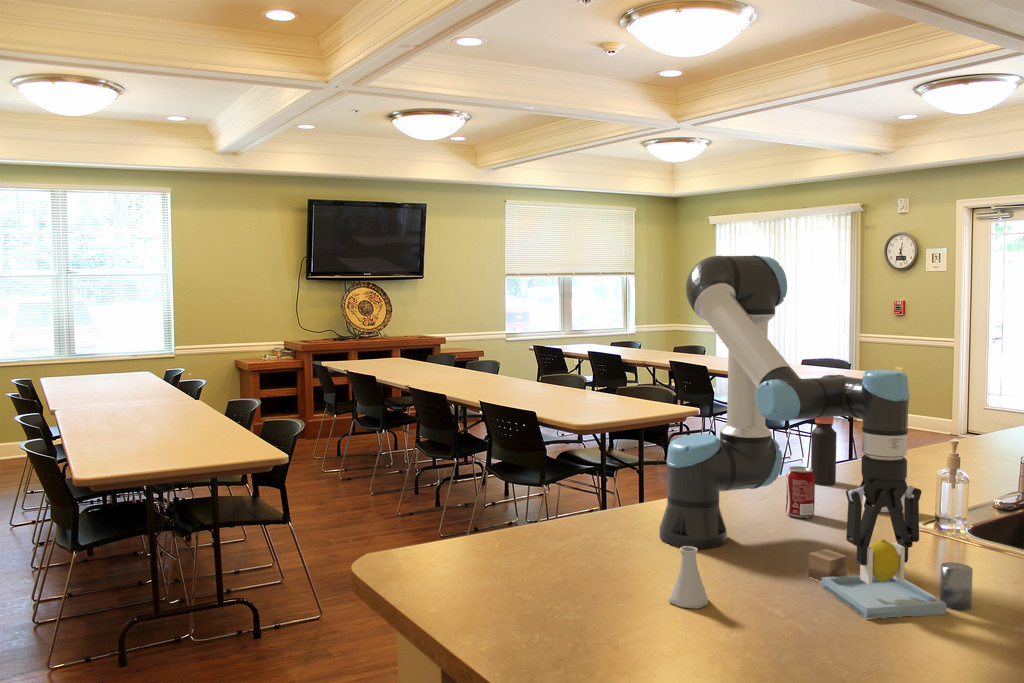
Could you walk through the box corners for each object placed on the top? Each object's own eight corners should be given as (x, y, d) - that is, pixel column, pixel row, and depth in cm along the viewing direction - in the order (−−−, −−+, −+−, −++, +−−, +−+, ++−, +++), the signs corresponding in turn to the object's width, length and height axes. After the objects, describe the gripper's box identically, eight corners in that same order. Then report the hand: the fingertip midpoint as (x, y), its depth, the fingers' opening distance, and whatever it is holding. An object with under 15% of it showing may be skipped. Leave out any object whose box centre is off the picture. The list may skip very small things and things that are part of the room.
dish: (866, 619, 138) (866, 608, 138) (821, 587, 153) (821, 577, 153) (945, 614, 140) (946, 602, 140) (893, 582, 155) (894, 572, 155)
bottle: (839, 485, 230) (840, 417, 228) (815, 485, 230) (816, 417, 229) (830, 480, 237) (831, 413, 235) (807, 480, 237) (808, 413, 235)
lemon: (896, 578, 148) (897, 536, 147) (900, 589, 142) (901, 545, 142) (864, 575, 150) (864, 533, 149) (867, 585, 144) (867, 542, 144)
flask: (701, 613, 142) (701, 558, 141) (662, 604, 146) (662, 551, 145) (714, 599, 148) (714, 546, 147) (677, 591, 152) (677, 540, 151)
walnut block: (829, 585, 154) (829, 560, 154) (808, 577, 158) (808, 553, 158) (846, 581, 156) (847, 556, 156) (826, 573, 161) (826, 549, 160)
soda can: (818, 519, 197) (819, 471, 196) (790, 519, 197) (791, 471, 196) (808, 511, 204) (809, 465, 203) (782, 511, 204) (782, 465, 203)
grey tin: (952, 611, 141) (953, 572, 141) (933, 600, 146) (934, 563, 146) (978, 609, 142) (979, 571, 142) (958, 598, 147) (959, 561, 146)
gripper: (848, 462, 140) (846, 591, 141) (944, 457, 142) (941, 585, 144) (825, 453, 147) (823, 576, 149) (918, 449, 150) (915, 570, 151)
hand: (881, 580), depth 146 cm, fingers closed on lemon, 5 cm apart
